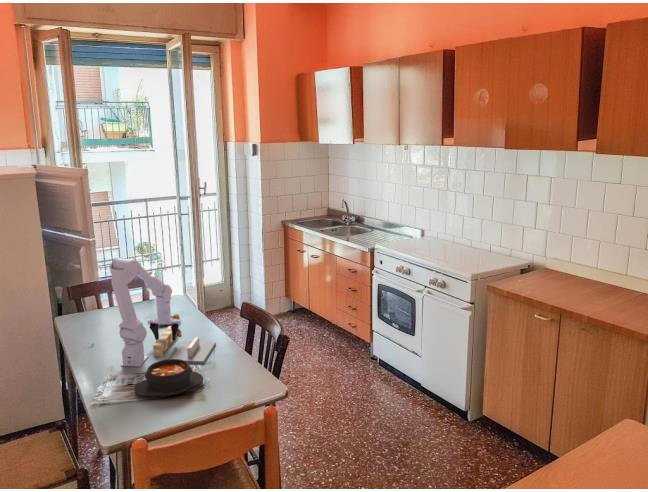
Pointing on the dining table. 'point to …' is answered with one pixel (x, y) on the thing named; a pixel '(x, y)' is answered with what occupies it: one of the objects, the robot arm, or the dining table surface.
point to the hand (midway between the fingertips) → (165, 339)
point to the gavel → (172, 324)
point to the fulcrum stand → (194, 351)
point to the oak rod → (163, 342)
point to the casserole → (168, 378)
